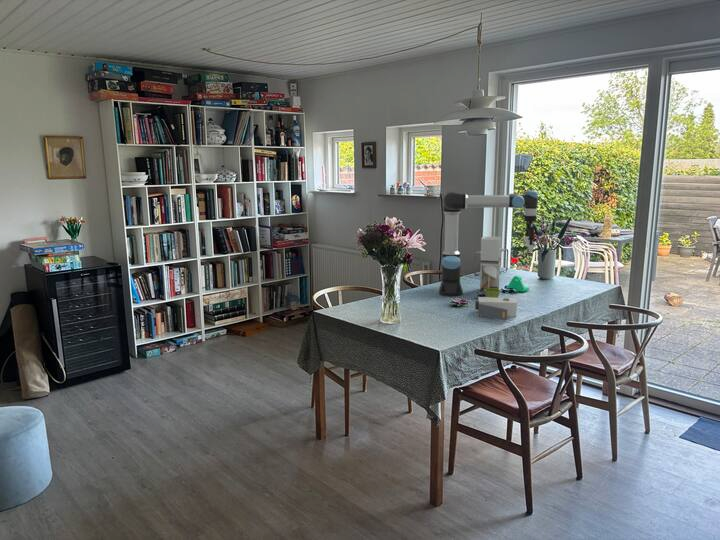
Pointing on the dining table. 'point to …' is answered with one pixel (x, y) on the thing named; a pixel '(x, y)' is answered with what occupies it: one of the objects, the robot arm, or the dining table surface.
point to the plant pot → (492, 292)
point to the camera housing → (498, 304)
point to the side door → (493, 311)
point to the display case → (490, 263)
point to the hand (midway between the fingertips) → (528, 248)
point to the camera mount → (517, 284)
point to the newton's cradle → (500, 251)
